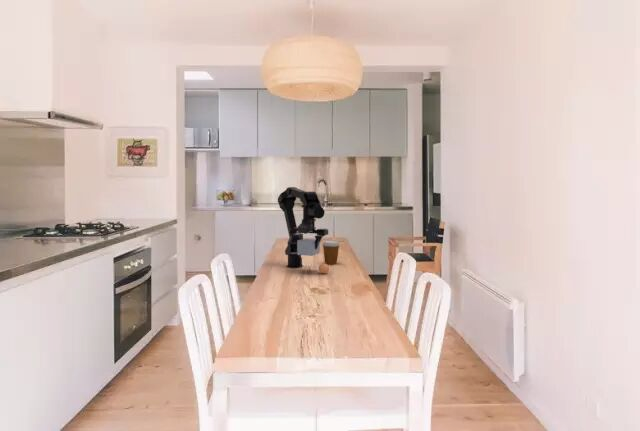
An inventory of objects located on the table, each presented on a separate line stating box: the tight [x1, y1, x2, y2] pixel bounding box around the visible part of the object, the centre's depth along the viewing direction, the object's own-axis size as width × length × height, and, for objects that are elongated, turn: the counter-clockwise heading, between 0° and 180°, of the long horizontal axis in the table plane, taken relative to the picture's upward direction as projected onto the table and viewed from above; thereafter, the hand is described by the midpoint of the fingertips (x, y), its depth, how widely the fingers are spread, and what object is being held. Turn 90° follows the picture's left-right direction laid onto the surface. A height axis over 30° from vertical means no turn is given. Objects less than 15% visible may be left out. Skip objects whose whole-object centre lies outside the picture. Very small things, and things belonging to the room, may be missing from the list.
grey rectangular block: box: [297, 238, 321, 257], centre depth 243 cm, size 8×10×7 cm
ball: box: [318, 262, 330, 275], centre depth 238 cm, size 5×5×5 cm
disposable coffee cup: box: [322, 240, 341, 266], centre depth 265 cm, size 10×10×12 cm
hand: (308, 248), depth 243 cm, fingers closed on grey rectangular block, 8 cm apart
